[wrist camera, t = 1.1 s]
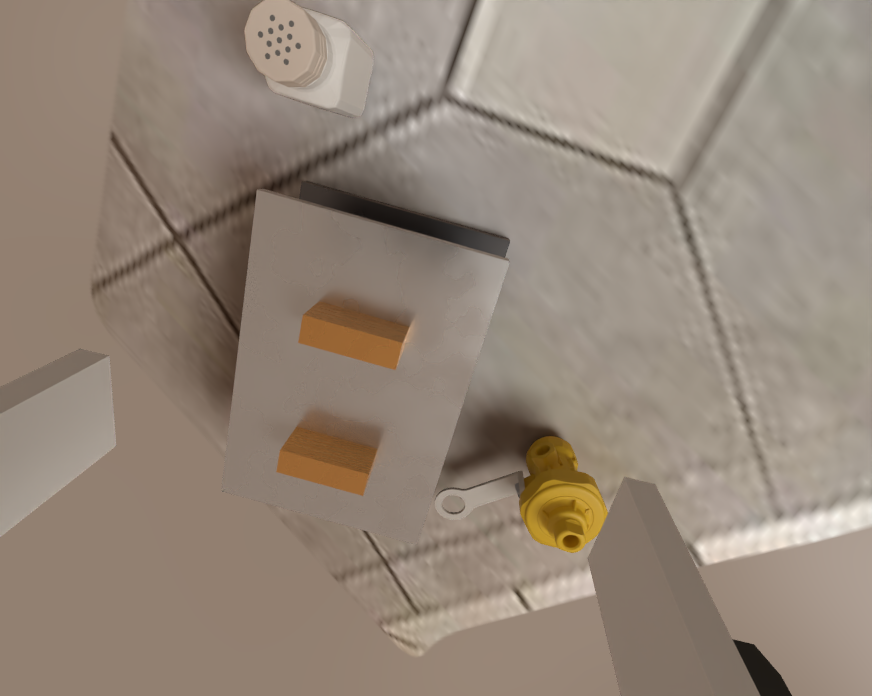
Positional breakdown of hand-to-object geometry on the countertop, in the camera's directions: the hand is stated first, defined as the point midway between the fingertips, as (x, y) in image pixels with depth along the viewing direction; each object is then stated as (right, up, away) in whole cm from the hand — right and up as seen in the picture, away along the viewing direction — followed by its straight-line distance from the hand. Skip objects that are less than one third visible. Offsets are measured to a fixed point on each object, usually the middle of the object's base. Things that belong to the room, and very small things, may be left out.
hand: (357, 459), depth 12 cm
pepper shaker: (-4, +20, +17) cm, 26 cm away
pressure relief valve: (+8, -6, +26) cm, 28 cm away
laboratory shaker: (-2, +4, +23) cm, 24 cm away
